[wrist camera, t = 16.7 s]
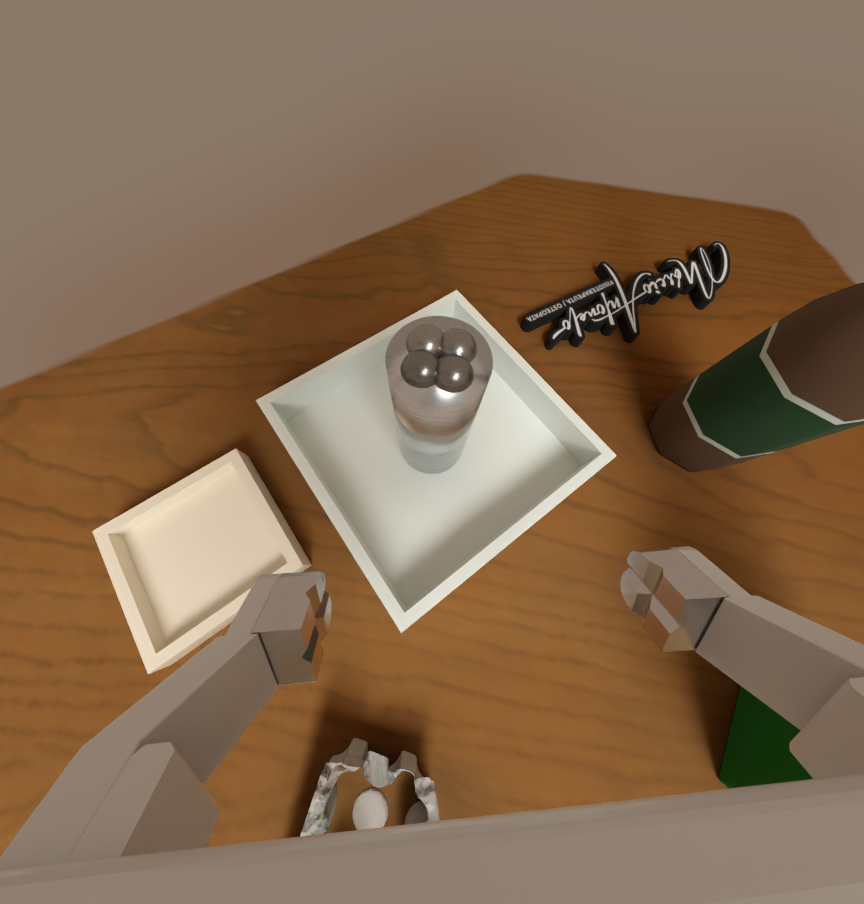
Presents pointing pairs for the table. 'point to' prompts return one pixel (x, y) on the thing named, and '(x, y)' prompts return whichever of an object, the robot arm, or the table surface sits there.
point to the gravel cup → (436, 388)
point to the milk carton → (759, 746)
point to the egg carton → (368, 790)
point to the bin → (430, 495)
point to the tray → (195, 556)
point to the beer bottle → (772, 389)
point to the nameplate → (631, 296)
